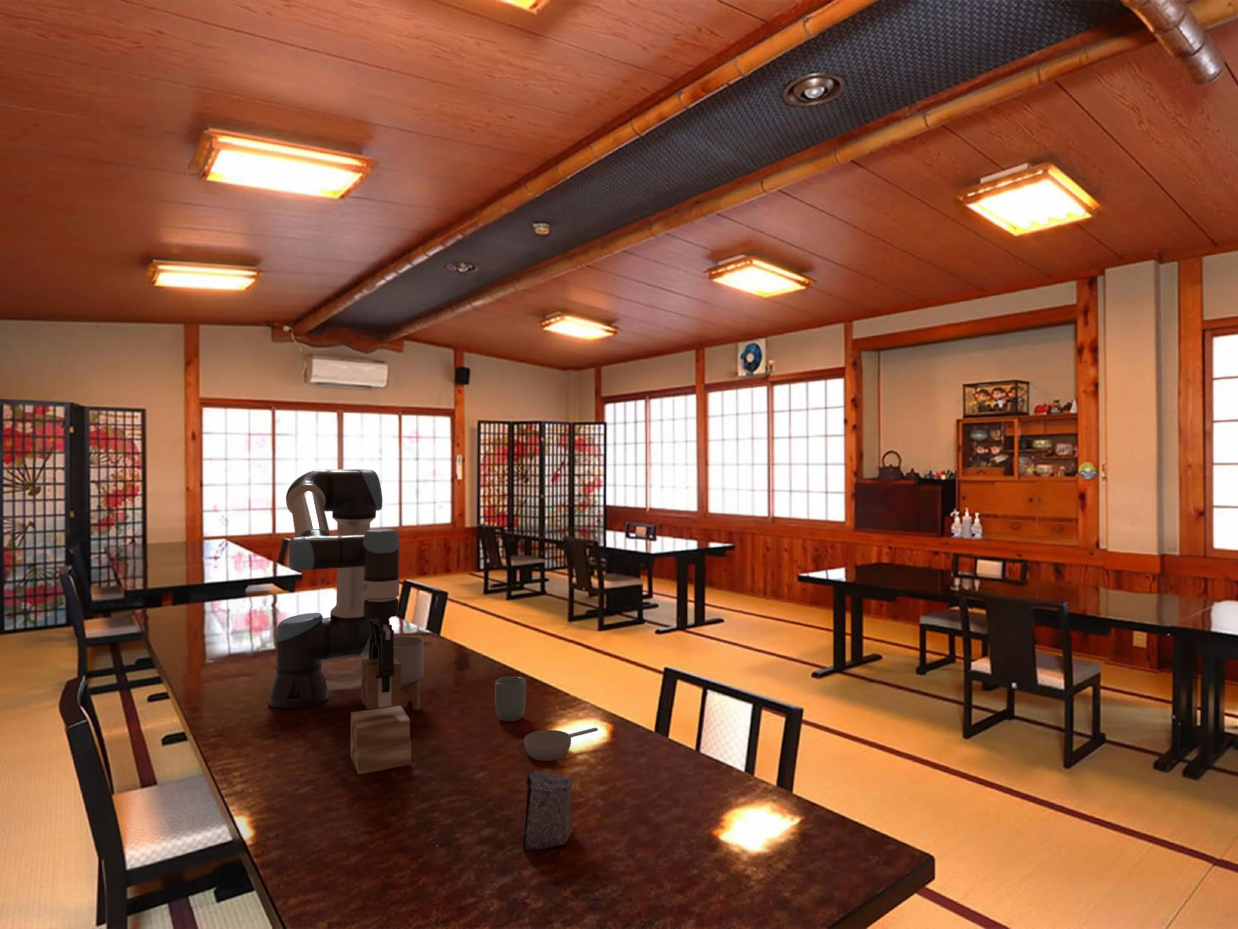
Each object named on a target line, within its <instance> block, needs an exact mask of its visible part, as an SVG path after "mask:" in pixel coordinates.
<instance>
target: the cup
mask: <svg viewBox="0 0 1238 929" xmlns="http://www.w3.org/2000/svg"><path fill="white" fill-rule="evenodd" d="M526 700H527V682H526V679H525V678H524V677H521V676H503V677H499V678H498V679H496V680H495V684H494V703H495V706H494V707H495V713H496V716H497V717H498V719H500V720H501V721H503V722H507V723H508V722H511V723H512V722H517V721H518V720H520V719H521V718H522V717H523V715H524V713H525V709H526V702H527V701H526Z"/></svg>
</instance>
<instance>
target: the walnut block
mask: <svg viewBox="0 0 1238 929" xmlns="http://www.w3.org/2000/svg"><path fill="white" fill-rule="evenodd" d="M386 671H388V670H386ZM377 675H379V660H378V658H375V659H369V658H367V659H362V660H361V683H360V684H361V686H360V687H361V702H362V703H363V705H364V706H365V708H366V709H367V710H372V709H379V708H380V707H378V678H376V676H377ZM401 692H402V691H401V663H400V662H399V661H398V660H397V659H396V658H395V657H394V675H393V676H392V684H391V706H390V707H393V706H399V705H401V703H402V699H401V694H402V693H401ZM385 707H386V706H385Z"/></svg>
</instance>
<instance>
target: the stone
mask: <svg viewBox="0 0 1238 929" xmlns="http://www.w3.org/2000/svg"><path fill="white" fill-rule="evenodd" d="M525 782H526V783H525V785H527V786H526V788H527V790H526V804H525V805H526V807H525V808H526V809H525V821H524V833H523V842H522V843H523V844H522V848H523V849H524V850H527V851H532V850H543V849H549V848H552V847H557V846H561V845H565V844H566V843H567V842H568V840H569V838H570V836H571V834H572V829H571V822H570V819H571V818H570V812H571V794H570V793H571V790H572V785H573V779H572V778H570V777H566V776H563V775H562V776H561V775H556V774H553V773H546V772H543V771H531V772H530V771H529V772H526V776H525Z"/></svg>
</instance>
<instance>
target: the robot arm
mask: <svg viewBox="0 0 1238 929" xmlns="http://www.w3.org/2000/svg"><path fill="white" fill-rule="evenodd" d="M382 491H383V490H382V486H381V481H380V478H379V475H378V473H377V472H376V471H375V470H373V469H362V468H347V469H346V468H345V469H343V468H340V469H338V468H337V469H334V468H333V469H326V468H325V469H324V468H323V469H322V468H321V469H314V470H312V471H308V472H306V473H304V474H302V475H301V476H299V477H297V478H296V479H295V480H294V481H293V482H292V483H291V485H290V486H289V487H288V489H287V492H286V495H285V503H286V507H287V509H288V511H289V512H290V513H291V515H292V521H293V522H292V523H293V528H294V537H292V538H290V539H289V541H288V566H289V568H290V570H291V571H306V572H309V571H315V570H316V571H318V570H331V569H336V601H335V602H336V605H334V606H333V608H332V609H331V610H330V614H329V615H330V617H324V616H323V615H322V613H321V612H308V613H307V612H306V613H302V614H301V613H300V614H297V615H296V614H295V615H293V616H290V617H289V616H288V617H287V618H285V619H283V620H281V621H279V623H278V625H277V627H276V636H275V642H276V657H275V658H276V665H275V667H276V669H275V670H276V672H275V673H276V674H275V677H274V680H273V684H272V687H271V690H270V693H269V695H268V704H269V706H270V707H273V708H277V709H300V708H308V707H311V706H315V705H318V704H321V703H323V702H325V701H326V700H328V699H329V686H328V684H327V681H326V678H325V675H324V672H323V667H322V666H323V665H322V664H323V661H327V660H335V659H345V658H359V657H362V656H366V655H367V656H368V659H375V658H378V660H379V675H377V676H376V678H378V707H379V708H381V707H385V706H389V707H392V706H391V684H392V676H393V675H394V645H393V639H394V637H395V636H394V635H395V631H394V629H393V626H392V624H390V623H391V621H390V619H391V618H394V617H395V618H396V616H398V615H399V612H400V606H399V605H400V599H398V598H397V597H398V596H399V595H400V578H399V573H400V572H399V571H400V568H399V567H400V546H401V543H400V536H399V535H400V534H399V531H398V529H395V528H371V523H372V521H373V520H374V519H376V517H377V512H378V511H381V510H382V509H383V493H382ZM326 512H331V513H332V515H331V516H332V517H331V518H332V519H333V520H335V522H336V523H337V535H331V532H330V528H329V524H328V520H327V516H326ZM386 670H388V671H386Z"/></svg>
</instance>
